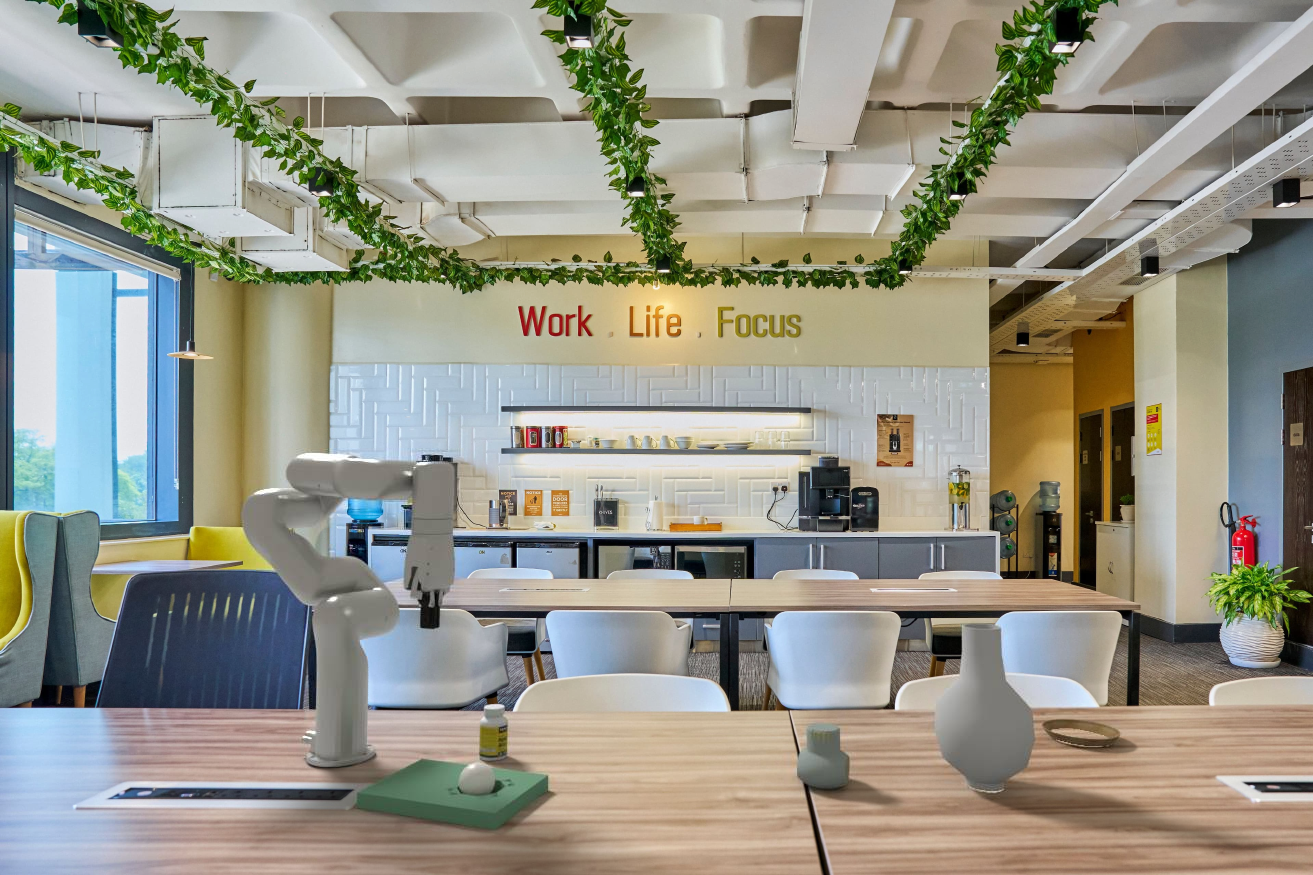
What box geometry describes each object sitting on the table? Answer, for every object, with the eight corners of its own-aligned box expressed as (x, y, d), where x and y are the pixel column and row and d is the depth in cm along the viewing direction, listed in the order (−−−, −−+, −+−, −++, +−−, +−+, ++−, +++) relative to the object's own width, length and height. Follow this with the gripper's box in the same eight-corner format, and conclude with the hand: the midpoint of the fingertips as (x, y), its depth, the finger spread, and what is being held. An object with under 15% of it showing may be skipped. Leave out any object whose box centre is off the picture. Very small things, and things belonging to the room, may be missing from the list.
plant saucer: (1036, 744, 172) (1036, 731, 172) (1046, 726, 184) (1046, 714, 184) (1118, 756, 164) (1118, 743, 164) (1123, 737, 176) (1122, 725, 176)
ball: (489, 793, 136) (464, 813, 137) (507, 780, 141) (483, 799, 143) (470, 761, 137) (445, 781, 139) (488, 750, 143) (464, 769, 144)
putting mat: (356, 807, 137) (356, 792, 137) (421, 772, 154) (422, 758, 154) (495, 829, 128) (495, 812, 128) (548, 789, 145) (548, 774, 145)
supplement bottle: (501, 762, 159) (501, 710, 160) (474, 760, 160) (475, 709, 161) (511, 753, 165) (512, 703, 165) (485, 751, 166) (486, 702, 166)
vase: (1039, 779, 150) (1035, 623, 152) (1032, 811, 136) (1028, 637, 137) (943, 765, 158) (940, 616, 160) (927, 793, 144) (924, 629, 145)
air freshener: (805, 771, 155) (805, 716, 155) (851, 776, 152) (850, 720, 153) (795, 791, 144) (794, 733, 145) (843, 797, 142) (842, 737, 142)
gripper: (438, 525, 163) (436, 620, 162) (389, 529, 149) (386, 633, 148) (471, 527, 160) (469, 623, 159) (425, 531, 146) (422, 636, 145)
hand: (429, 627), depth 154 cm, fingers closed
